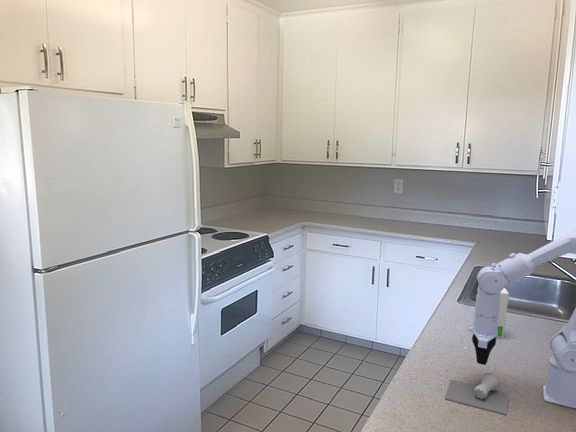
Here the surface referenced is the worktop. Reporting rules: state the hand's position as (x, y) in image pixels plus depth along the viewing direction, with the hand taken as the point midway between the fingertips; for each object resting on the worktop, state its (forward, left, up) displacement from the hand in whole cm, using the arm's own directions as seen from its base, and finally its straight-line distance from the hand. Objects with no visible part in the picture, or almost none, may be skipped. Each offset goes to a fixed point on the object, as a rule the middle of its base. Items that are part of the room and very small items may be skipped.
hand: (481, 363), depth 123 cm
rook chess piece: (-3, +1, -3) cm, 5 cm away
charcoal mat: (0, +7, -6) cm, 9 cm away
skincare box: (0, -37, -6) cm, 37 cm away
